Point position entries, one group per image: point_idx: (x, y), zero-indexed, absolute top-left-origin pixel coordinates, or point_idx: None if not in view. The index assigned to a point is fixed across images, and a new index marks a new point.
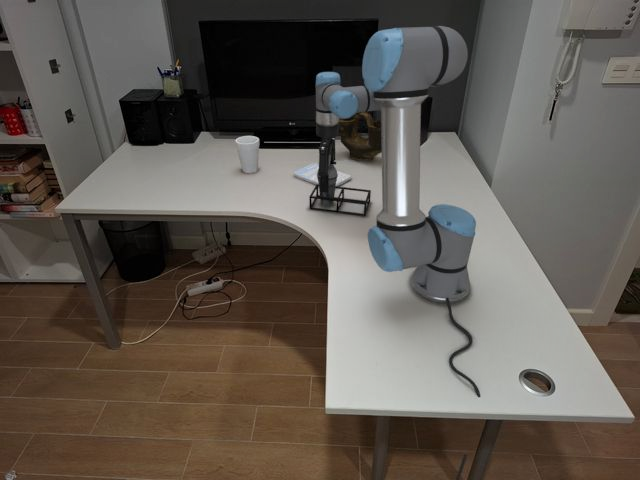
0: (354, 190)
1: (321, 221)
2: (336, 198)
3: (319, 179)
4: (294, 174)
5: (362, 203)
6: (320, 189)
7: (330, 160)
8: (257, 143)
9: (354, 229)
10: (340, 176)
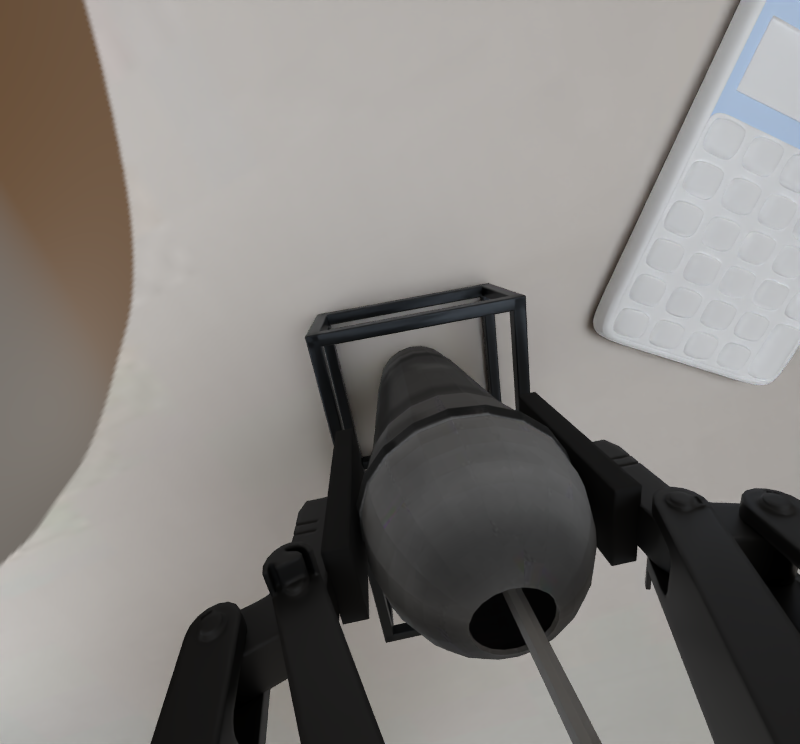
0: None
1: (229, 432)
2: None
3: (373, 459)
4: None
5: (382, 625)
6: (335, 442)
7: (671, 593)
8: None
9: (251, 579)
10: (752, 337)
